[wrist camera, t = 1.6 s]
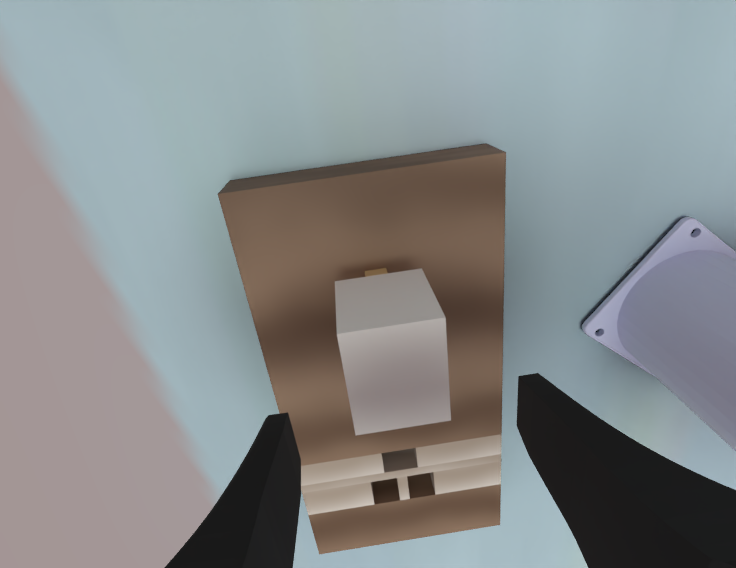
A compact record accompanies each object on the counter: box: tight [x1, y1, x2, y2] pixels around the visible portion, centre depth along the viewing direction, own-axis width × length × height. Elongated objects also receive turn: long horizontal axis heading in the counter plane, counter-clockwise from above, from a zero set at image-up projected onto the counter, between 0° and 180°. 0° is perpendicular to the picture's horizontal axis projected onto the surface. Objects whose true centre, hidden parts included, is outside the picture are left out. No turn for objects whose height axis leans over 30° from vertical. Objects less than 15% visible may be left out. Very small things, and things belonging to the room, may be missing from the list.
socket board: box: [218, 144, 506, 554], centre depth 24 cm, size 24×12×2 cm, turn 7°
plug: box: [335, 268, 451, 435], centre depth 18 cm, size 4×4×6 cm
